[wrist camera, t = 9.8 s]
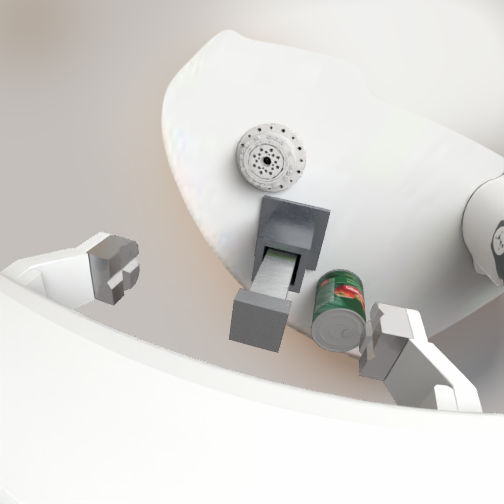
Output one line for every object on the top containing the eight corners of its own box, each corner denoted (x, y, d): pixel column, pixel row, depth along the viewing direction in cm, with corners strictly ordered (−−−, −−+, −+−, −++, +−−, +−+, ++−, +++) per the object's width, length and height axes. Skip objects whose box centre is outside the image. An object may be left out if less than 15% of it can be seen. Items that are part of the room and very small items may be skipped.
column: (307, 237, 42) (288, 314, 27) (299, 269, 45) (277, 352, 30) (270, 229, 43) (233, 299, 28) (265, 260, 45) (228, 339, 31)
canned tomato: (310, 300, 54) (302, 342, 44) (326, 262, 50) (322, 301, 40) (351, 314, 53) (352, 358, 43) (371, 278, 49) (376, 319, 40)
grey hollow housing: (330, 210, 46) (328, 243, 36) (315, 267, 51) (308, 311, 40) (265, 195, 48) (243, 223, 37) (255, 253, 52) (234, 292, 42)
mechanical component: (288, 200, 47) (318, 142, 42) (284, 209, 43) (316, 145, 38) (229, 171, 47) (254, 112, 43) (219, 178, 44) (246, 113, 39)
